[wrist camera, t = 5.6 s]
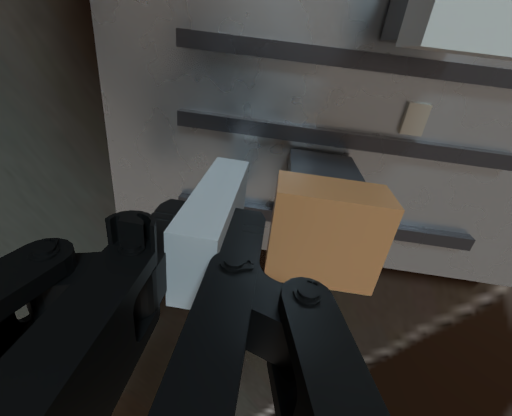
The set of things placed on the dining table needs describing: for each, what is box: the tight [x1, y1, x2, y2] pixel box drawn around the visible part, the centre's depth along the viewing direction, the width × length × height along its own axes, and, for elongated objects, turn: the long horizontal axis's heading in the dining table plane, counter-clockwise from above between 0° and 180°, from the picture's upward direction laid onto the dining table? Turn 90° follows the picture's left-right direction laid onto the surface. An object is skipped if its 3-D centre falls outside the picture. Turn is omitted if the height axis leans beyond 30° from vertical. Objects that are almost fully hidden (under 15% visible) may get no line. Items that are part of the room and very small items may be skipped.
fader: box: [264, 149, 405, 296], centre depth 13 cm, size 4×4×6 cm
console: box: [90, 0, 512, 287], centre depth 15 cm, size 24×18×3 cm
